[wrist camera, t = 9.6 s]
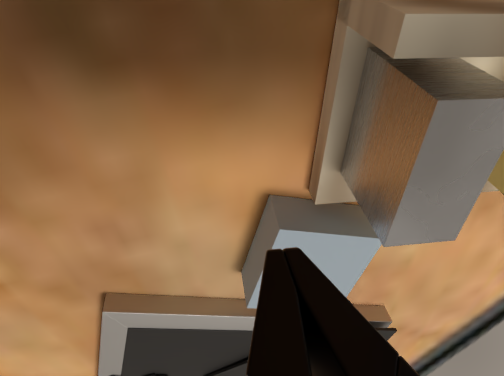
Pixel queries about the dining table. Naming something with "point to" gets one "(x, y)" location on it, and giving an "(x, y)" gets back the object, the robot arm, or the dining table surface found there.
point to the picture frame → (186, 335)
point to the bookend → (422, 145)
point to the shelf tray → (398, 47)
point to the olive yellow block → (498, 174)
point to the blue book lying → (312, 241)
